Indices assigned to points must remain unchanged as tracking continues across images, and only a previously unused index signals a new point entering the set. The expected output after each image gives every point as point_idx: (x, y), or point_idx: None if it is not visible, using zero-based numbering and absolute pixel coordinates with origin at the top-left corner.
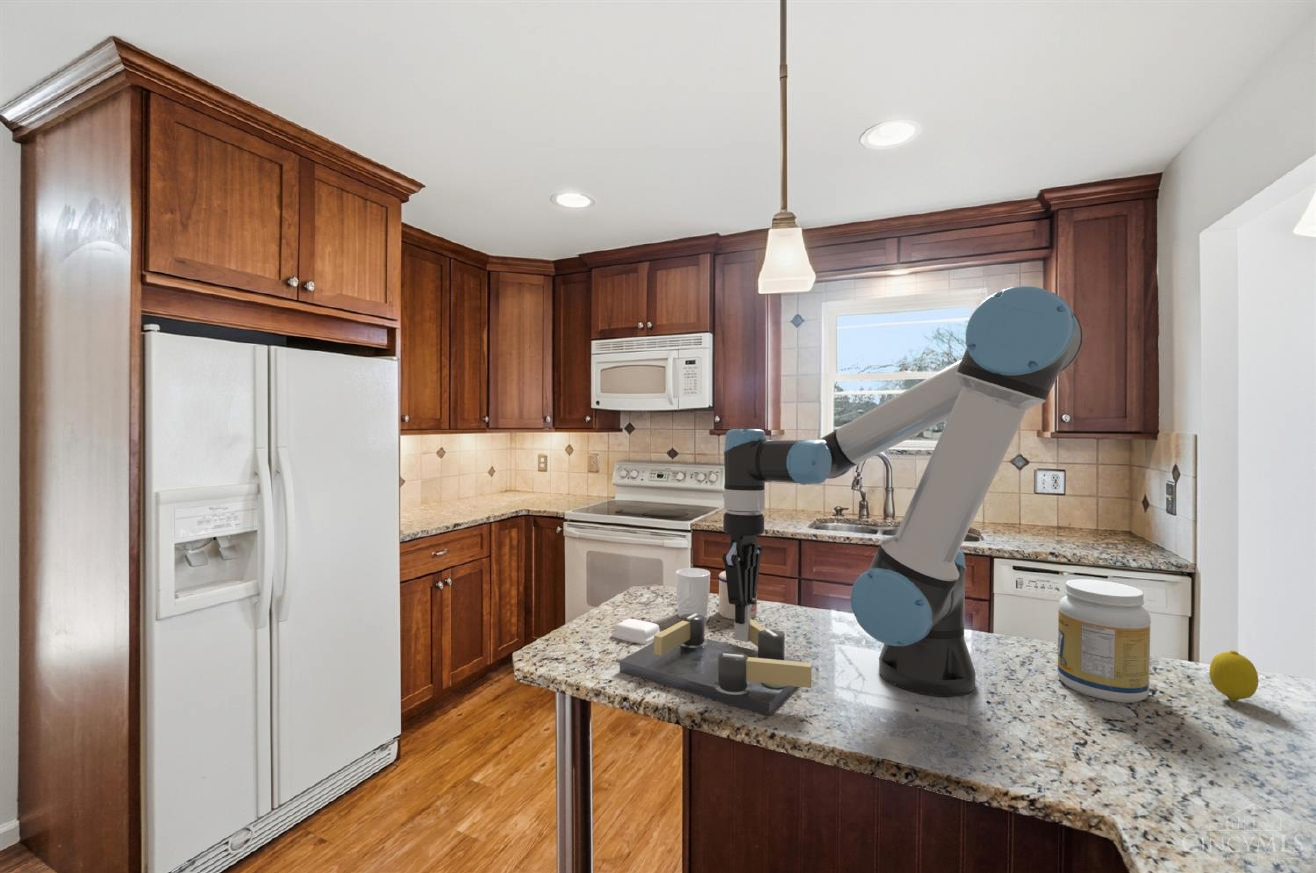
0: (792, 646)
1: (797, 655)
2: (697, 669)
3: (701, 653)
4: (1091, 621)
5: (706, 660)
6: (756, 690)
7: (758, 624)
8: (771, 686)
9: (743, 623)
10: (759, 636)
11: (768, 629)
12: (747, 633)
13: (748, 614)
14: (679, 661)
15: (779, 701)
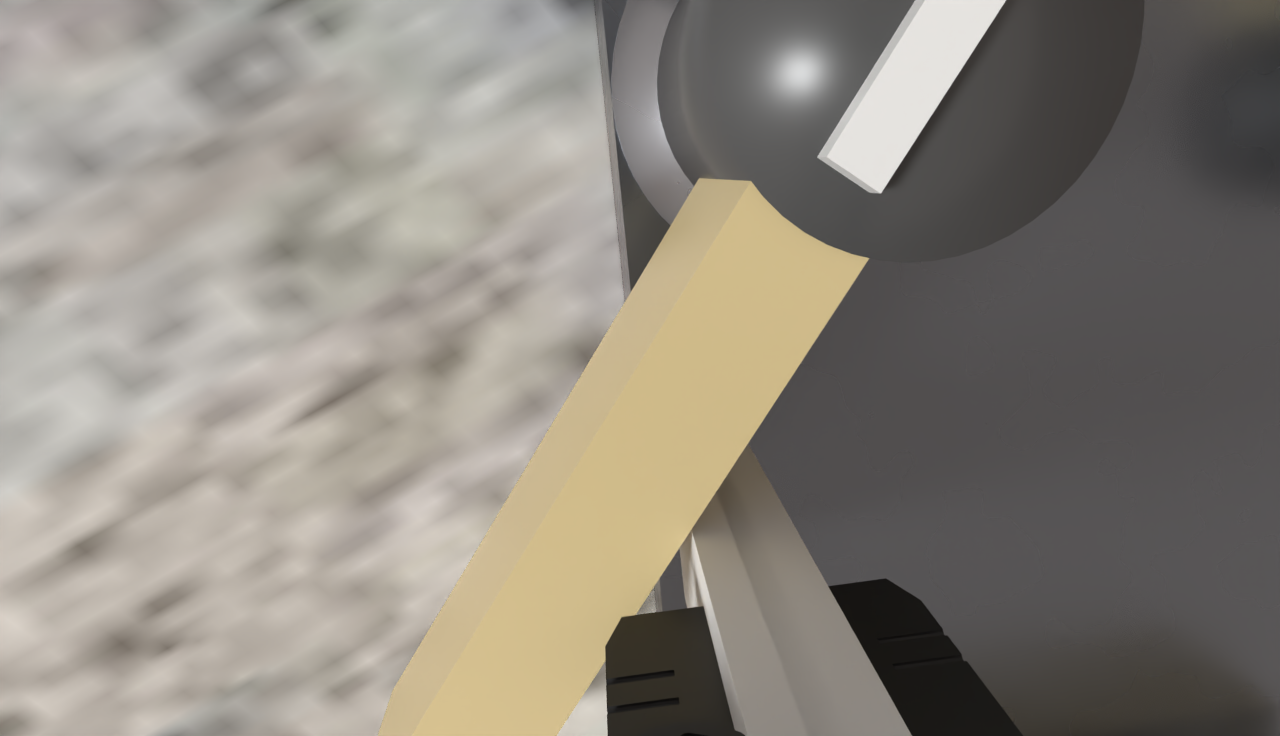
0: (19, 243)
1: (204, 81)
2: None
3: (1006, 667)
4: None
5: (1119, 553)
6: None
7: (611, 448)
8: None
9: (847, 585)
10: (1075, 166)
11: (831, 150)
12: (764, 480)
13: (824, 628)
14: (1240, 686)
15: None
